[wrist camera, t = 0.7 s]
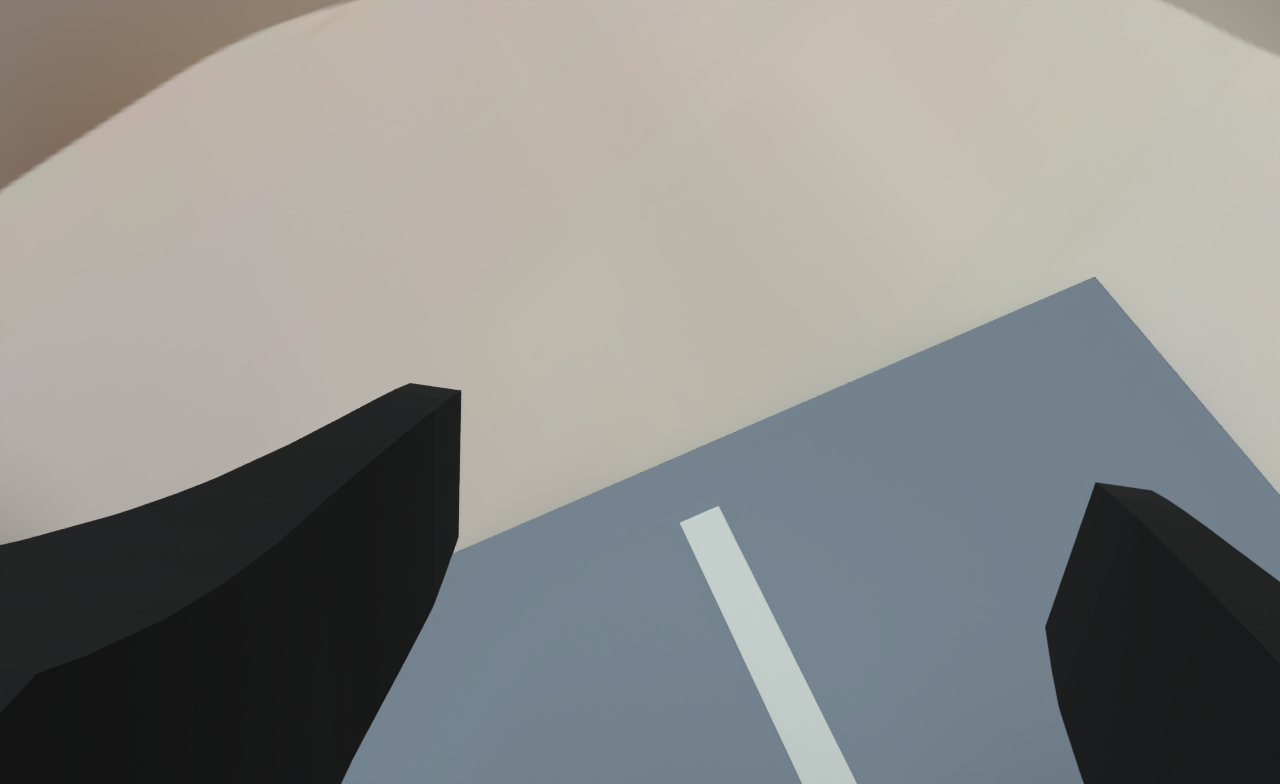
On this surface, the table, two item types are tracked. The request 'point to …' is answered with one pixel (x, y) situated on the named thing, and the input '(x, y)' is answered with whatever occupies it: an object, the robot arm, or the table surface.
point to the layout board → (820, 580)
